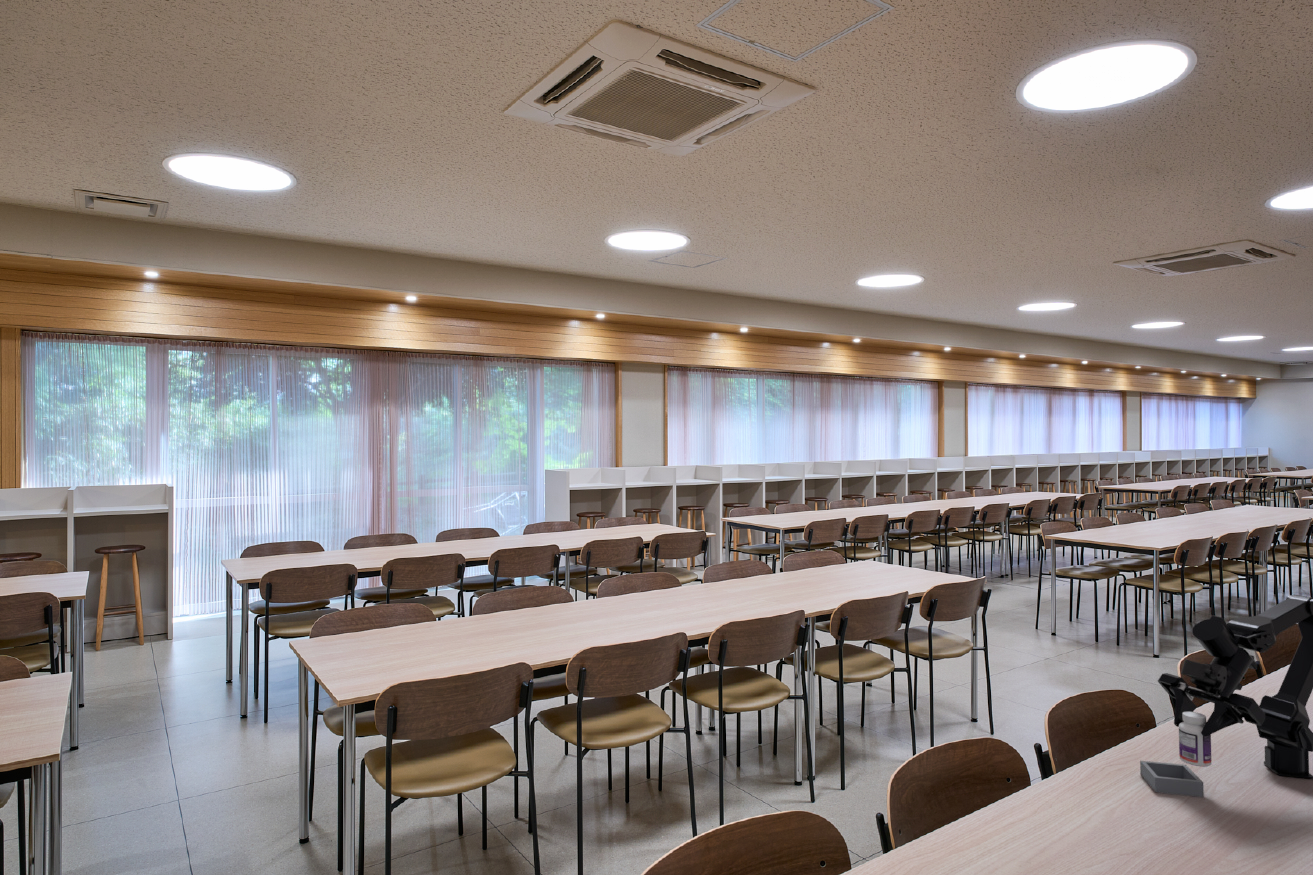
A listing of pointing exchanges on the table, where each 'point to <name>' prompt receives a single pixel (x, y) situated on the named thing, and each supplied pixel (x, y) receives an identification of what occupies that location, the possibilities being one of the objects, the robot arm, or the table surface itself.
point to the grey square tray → (1172, 778)
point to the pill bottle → (1194, 740)
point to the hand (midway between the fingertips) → (1189, 730)
